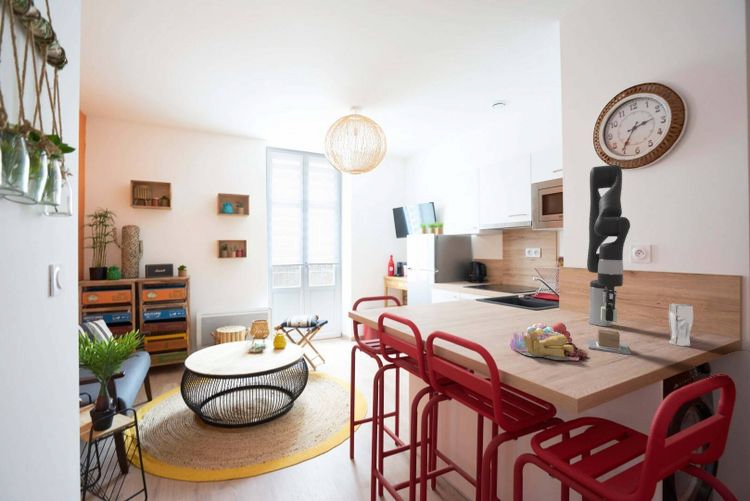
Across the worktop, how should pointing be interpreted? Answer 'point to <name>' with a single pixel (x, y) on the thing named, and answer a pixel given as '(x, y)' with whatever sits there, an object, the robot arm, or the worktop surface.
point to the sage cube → (603, 315)
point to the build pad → (622, 347)
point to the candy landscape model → (547, 343)
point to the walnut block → (608, 338)
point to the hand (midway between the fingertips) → (608, 319)
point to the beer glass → (680, 323)
